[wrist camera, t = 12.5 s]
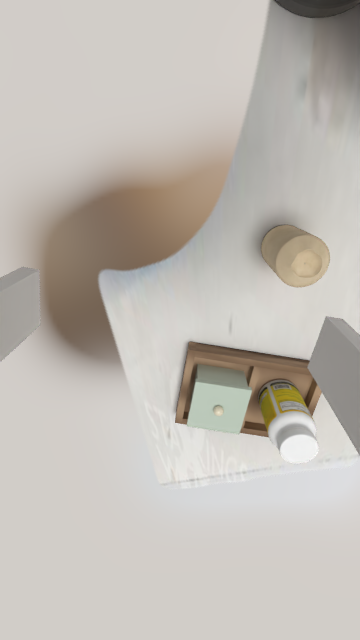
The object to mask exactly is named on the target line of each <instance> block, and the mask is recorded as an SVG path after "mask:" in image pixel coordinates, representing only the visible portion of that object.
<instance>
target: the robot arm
mask: <svg viewBox="0 0 360 640" xmlns="http://www.w3.org/2000/svg"><path fill="white" fill-rule="evenodd" d="M275 1H276V2H278V3H279V4H280V5H281V6H283V7H284V8H285V9H287V10H289V11H291V12H293V13H295V14H298V15H301V16H305V17H314V18H320V17H328V16H333V15H336V14H339V13H342V12H344V11H347V10H349V9H351V8H352V7H354V6H356V5H357V4H359V3H360V0H275ZM39 326H40V281H39V270H38V269H32V268H26V267H21V268H19V269H17V270H15V271H13V272H11V273H9V274H7V275H5V276H3V277H1V278H0V362H1V361H2V360H3V359H4V358H5V357H6V356H7V355H9V354H10V352H12V351H13V350H14V349H15V348H16V347H17V346H18V345H19V344H20V343H21V342H23V341H24V340H25V339H26V338H27V337H28V336H29V335H30V334H31V333H32V332H33V331H34V330H36V329H37V328H38V327H39ZM307 368H308V369H309V371H310V373H311V374H312V376H313V378H314V379H315V381H316V383H317V385H318V386H319V388H320V390H321V391H322V393H323V395H324V396H325V398H326V400H327V401H328V403H329V405H330V406H331V408H332V410H333V411H334V413H335V415H336V416H337V418H338V420H339V421H340V423H341V425H342V426H343V428H344V430H345V431H346V433H347V435H348V436H349V438H350V440H351V441H352V443H353V445H354V447H355V448H356V450H357V452H358V453H359V455H360V335H359V334H358V333H357V332H356V331H355V330H354V329H353V328H352V327H351V326H349V325H348V324H347V323H346V322H345V321H344V320H343V319H340V318H334V317H327V316H326V318H325V321H324V323H323V326H322V329H321V332H320V334H319V337H318V340H317V342H316V345H315V348H314V351H313V353H312V356H311V359H310V362H309V364H308V367H307Z"/></svg>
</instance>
